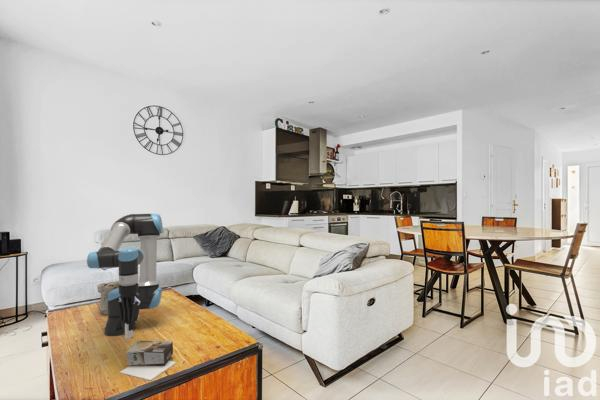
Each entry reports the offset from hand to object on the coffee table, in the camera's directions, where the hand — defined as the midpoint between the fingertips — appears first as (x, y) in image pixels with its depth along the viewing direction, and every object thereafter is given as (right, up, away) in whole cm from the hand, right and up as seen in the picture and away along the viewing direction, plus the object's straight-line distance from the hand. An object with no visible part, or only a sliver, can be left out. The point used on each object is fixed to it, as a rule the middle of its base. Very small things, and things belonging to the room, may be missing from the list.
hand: (128, 337), depth 133 cm
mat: (+11, -12, -4) cm, 16 cm away
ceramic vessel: (-43, -12, +65) cm, 79 cm away
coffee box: (+1, -7, +1) cm, 7 cm away
